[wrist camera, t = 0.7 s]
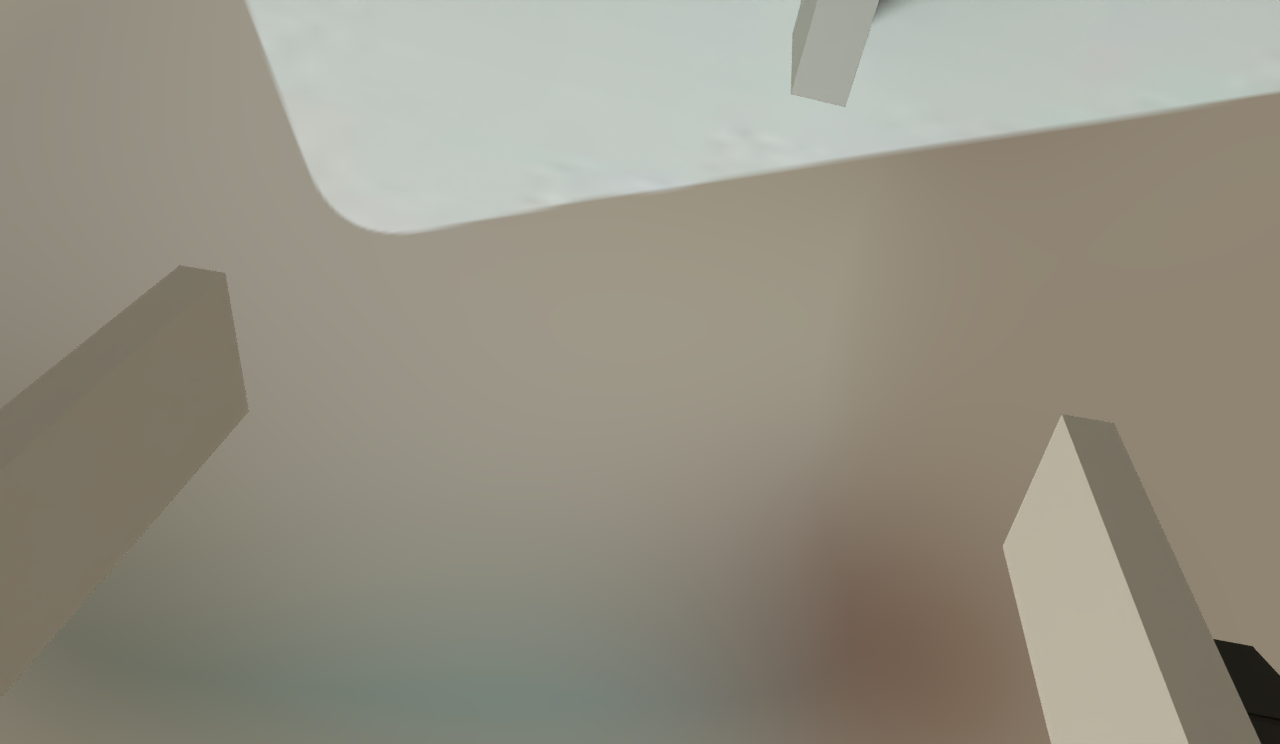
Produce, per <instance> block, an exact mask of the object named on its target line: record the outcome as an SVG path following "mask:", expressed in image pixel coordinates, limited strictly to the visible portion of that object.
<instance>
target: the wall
mask: <svg viewBox="0 0 1280 744" xmlns="http://www.w3.org/2000/svg"><path fill="white" fill-rule="evenodd" d="M878 2H879V0H802V2H801V5H800V9H799V13H798V16H797V20H796V23H795V27H794V31H793V38H792V75H791V94H793V95H797V96H801V97H806V98H810V99H814V100H818V101H822V102H827V103H831V104H835V105H839V106H843V107H845V106H846V103H847V100H848V96H849V93H850V90H851V87H852V84H853V81H854V78H855V74H856V71H857V68H858V65H859V62H860V59H861V56H862V52H863V49H864V46H865V43H866V40H867V37H868V34H869V31H870V27H871V24H872V21H873V18H874V15H875V12H876V9H877V5H878Z"/></svg>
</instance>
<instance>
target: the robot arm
mask: <svg viewBox="0 0 1280 744" xmlns="http://www.w3.org/2000/svg"><path fill="white" fill-rule="evenodd" d="M248 411H249V410H248V404H247V398H246V393H245V387H244V381H243V375H242V369H241V363H240V357H239V351H238V346H237V339H236V333H235V328H234V322H233V316H232V310H231V304H230V298H229V292H228V286H227V281H226V274H225V273H222V272H216V271H210V270H204V269H198V268H192V267H186V266H178V267H177V268H176V269H175V270H173V271H172V272H171V273H170V274H168V275H167V276H166V277H165V278H163V279H162V280H161V281H160V282H158V283H157V284H156V285H155V286H153V287H152V288H151V289H150V290H148V291H147V292H146V293H145V294H143V295H142V296H141V297H140V298H138V299H137V300H136V301H135V302H133V303H132V304H131V305H130V306H128V307H127V308H126V309H125V310H123V311H122V312H121V313H120V314H118V315H117V316H116V317H115V318H113V319H112V320H111V321H110V322H108V323H107V324H106V325H105V326H103V327H102V328H101V329H100V330H98V331H97V332H96V333H95V334H94V335H92V336H91V337H90V338H88V339H87V340H86V341H85V342H84V343H82V344H81V345H80V346H78V347H77V348H76V349H75V350H73V351H72V352H71V353H70V354H68V355H67V356H66V357H65V358H63V359H62V360H61V361H60V362H58V363H57V364H56V365H55V366H53V367H52V368H51V369H50V370H48V371H47V372H46V373H45V374H43V375H42V376H41V377H40V378H38V379H37V380H36V381H35V382H33V383H32V384H31V385H30V386H28V387H27V388H26V389H25V390H23V391H22V392H21V393H20V394H18V395H17V396H16V397H15V398H13V399H12V400H11V401H10V402H9V403H7V404H6V405H5V406H3V407H2V408H1V409H0V699H1V698H2V696H3V695H4V694H5V693H6V692H7V691H8V690H9V688H10V687H11V686H12V685H13V683H15V681H16V680H17V679H18V678H19V677H20V676H21V674H22V673H23V672H24V671H25V670H26V669H27V668H28V666H29V665H30V664H31V663H32V662H33V661H34V659H35V658H36V657H37V656H38V655H39V654H40V653H41V651H42V650H43V649H44V648H45V647H46V646H47V644H48V643H49V642H50V641H51V640H52V639H53V637H54V636H55V635H56V634H57V633H58V632H59V631H60V629H61V628H62V627H63V626H64V624H66V622H67V621H68V620H69V619H70V618H71V617H72V615H73V614H74V613H75V612H76V611H77V610H78V608H79V607H80V606H81V605H82V604H83V602H84V601H85V600H86V599H87V598H88V597H89V596H90V595H91V593H92V592H93V591H94V590H95V589H96V588H97V586H98V585H99V584H100V583H101V582H102V581H103V579H104V578H105V577H106V576H107V575H108V574H109V573H110V571H111V570H112V569H113V568H114V567H115V566H116V564H117V563H118V562H119V561H120V560H121V559H122V558H123V556H124V555H125V554H126V553H127V552H128V550H129V549H130V548H131V547H132V546H133V545H134V543H135V542H136V541H137V540H138V539H139V537H141V536H142V534H143V533H144V532H145V531H146V530H147V529H148V527H149V526H150V525H151V524H152V523H153V522H154V520H155V519H156V518H157V517H158V516H159V515H160V513H161V512H162V511H163V510H164V509H165V507H167V505H168V504H169V503H170V502H171V501H172V500H173V498H174V497H175V496H176V495H177V494H178V493H179V492H180V490H181V489H182V488H183V487H184V486H185V485H186V483H187V482H188V481H189V480H190V479H191V477H192V476H193V475H194V474H195V473H196V472H197V471H198V470H199V468H200V467H201V466H202V465H203V464H204V463H205V461H206V460H207V459H208V458H209V456H211V454H212V453H213V452H214V451H215V450H216V449H217V447H218V446H219V445H220V444H221V443H222V442H223V441H224V439H225V438H226V437H227V436H228V435H229V434H230V432H231V431H232V430H233V429H234V428H235V426H236V425H237V424H238V423H239V422H240V421H241V420H242V419H243V417H244V416H245V415H246V414H247V413H248ZM1003 549H1004V553H1005V557H1006V562H1007V565H1008V570H1009V574H1010V578H1011V581H1012V586H1013V590H1014V594H1015V598H1016V602H1017V606H1018V611H1019V614H1020V619H1021V623H1022V627H1023V631H1024V635H1025V639H1026V643H1027V647H1028V651H1029V655H1030V659H1031V664H1032V668H1033V671H1034V676H1035V680H1036V684H1037V688H1038V692H1039V696H1040V700H1041V704H1042V708H1043V713H1044V717H1045V721H1046V725H1047V729H1048V733H1049V737H1050V741H1051V744H1280V675H1279V674H1278V673H1277V672H1276V671H1275V670H1274V669H1273V668H1272V667H1271V666H1270V665H1269V664H1268V662H1267V661H1266V660H1265V659H1264V658H1263V657H1262V656H1261V655H1260V654H1259V653H1258V652H1257V651H1256V650H1255V649H1254V647H1252V646H1248V645H1242V644H1237V643H1231V642H1226V641H1220V640H1215V639H1213V638H1212V635H1211V634H1210V631H1209V629H1208V627H1207V625H1206V622H1205V620H1204V618H1203V616H1202V614H1201V612H1200V610H1199V607H1198V605H1197V603H1196V601H1195V598H1194V596H1193V594H1192V592H1191V590H1190V587H1189V585H1188V583H1187V581H1186V579H1185V577H1184V574H1183V572H1182V570H1181V568H1180V566H1179V564H1178V561H1177V559H1176V557H1175V555H1174V553H1173V550H1172V548H1171V546H1170V544H1169V542H1168V540H1167V537H1166V535H1165V533H1164V531H1163V529H1162V527H1161V524H1160V522H1159V520H1158V518H1157V516H1156V513H1155V511H1154V509H1153V507H1152V505H1151V502H1150V500H1149V498H1148V496H1147V494H1146V492H1145V489H1144V487H1143V485H1142V483H1141V481H1140V478H1139V476H1138V474H1137V472H1136V470H1135V468H1134V465H1133V463H1132V461H1131V459H1130V457H1129V455H1128V452H1127V450H1126V448H1125V446H1124V444H1123V441H1122V439H1121V437H1120V435H1119V433H1118V431H1117V428H1116V426H1115V424H1114V423H1110V422H1104V421H1098V420H1092V419H1087V418H1080V417H1074V416H1069V415H1063V414H1062V415H1061V417H1060V420H1059V422H1058V424H1057V426H1056V429H1055V431H1054V433H1053V435H1052V438H1051V440H1050V442H1049V444H1048V447H1047V449H1046V451H1045V453H1044V456H1043V458H1042V460H1041V462H1040V465H1039V467H1038V469H1037V471H1036V474H1035V476H1034V478H1033V480H1032V482H1031V485H1030V487H1029V489H1028V492H1027V494H1026V496H1025V498H1024V500H1023V503H1022V505H1021V507H1020V509H1019V512H1018V514H1017V516H1016V518H1015V521H1014V523H1013V525H1012V527H1011V530H1010V532H1009V534H1008V536H1007V539H1006V541H1005V543H1004V545H1003Z"/></svg>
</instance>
